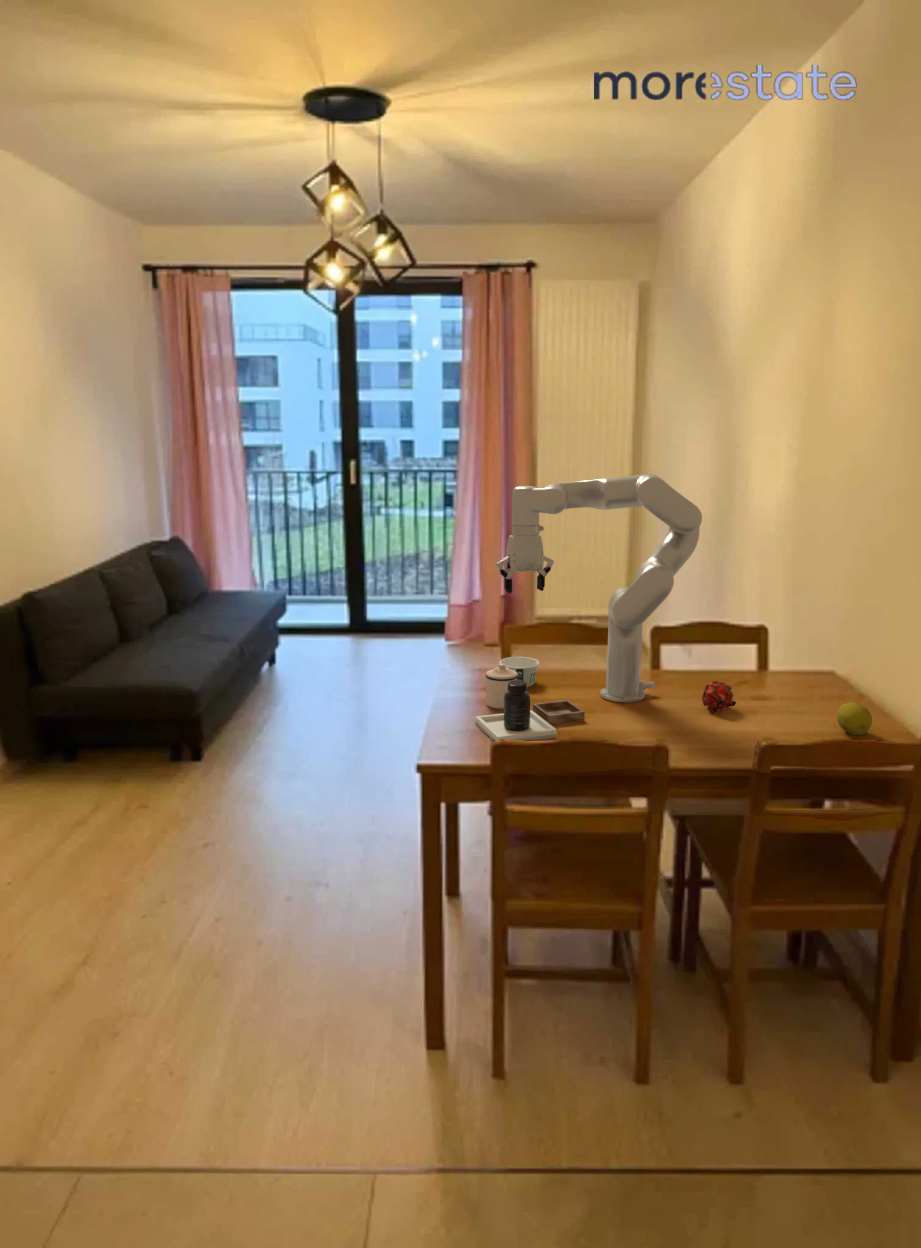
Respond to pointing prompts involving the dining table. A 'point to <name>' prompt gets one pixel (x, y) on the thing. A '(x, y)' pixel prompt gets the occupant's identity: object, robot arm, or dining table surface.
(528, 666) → the food container
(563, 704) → the holder
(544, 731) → the tray
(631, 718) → the dining table surface
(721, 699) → the dragon fruit
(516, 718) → the supplement bottle
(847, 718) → the lemon
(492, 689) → the teacup with lid
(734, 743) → the dining table surface
